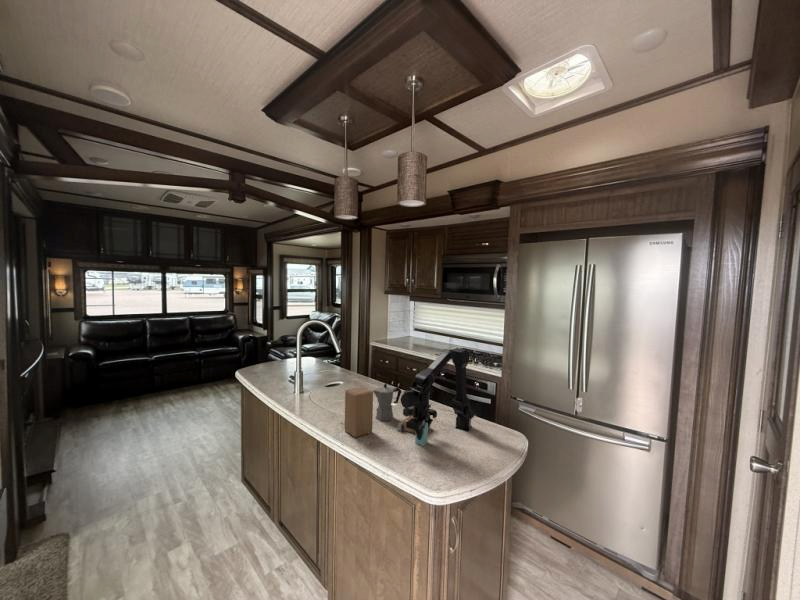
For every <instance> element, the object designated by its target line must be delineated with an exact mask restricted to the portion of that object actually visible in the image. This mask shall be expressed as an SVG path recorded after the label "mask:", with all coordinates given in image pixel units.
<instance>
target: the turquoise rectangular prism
mask: <svg viewBox="0 0 800 600" xmlns="http://www.w3.org/2000/svg"><path fill="white" fill-rule="evenodd" d="M423 426H425V429H424V431H423V434H422V437H421V440H418V438H417V434H415V438H414V439H415V440H414V441H415V442H414V443H415V445H418V446H421V447H424V446H425V445H426V444H427V443H428V442H429V439H428V436H429V429H428V423H426V422H423Z"/></svg>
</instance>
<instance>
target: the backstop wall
mask: <svg viewBox="0 0 800 600" xmlns="http://www.w3.org/2000/svg"><path fill="white" fill-rule="evenodd" d="M409 417H410V416H408V417H405V418H404V419H403V420H401V421H400V422H398V423H397V432H400V433H402V432H403V431H404V430H403V428H404V420H406V419H407V418H409Z"/></svg>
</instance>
